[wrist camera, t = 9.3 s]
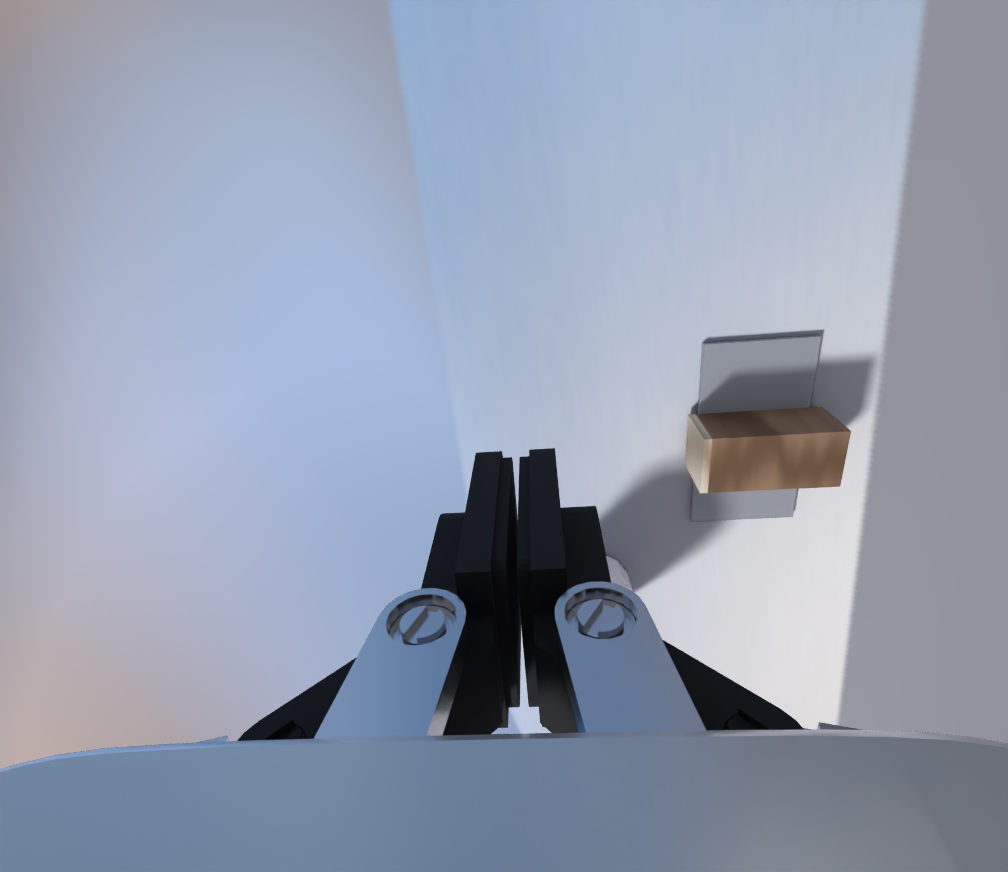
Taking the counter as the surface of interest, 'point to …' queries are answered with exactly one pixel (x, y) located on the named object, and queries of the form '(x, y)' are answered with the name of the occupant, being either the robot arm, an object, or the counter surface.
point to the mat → (753, 408)
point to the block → (766, 450)
